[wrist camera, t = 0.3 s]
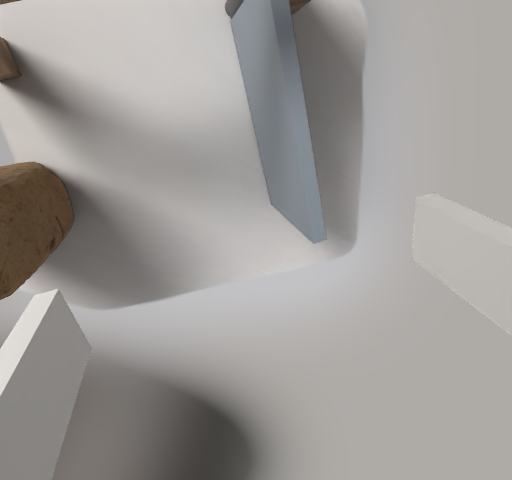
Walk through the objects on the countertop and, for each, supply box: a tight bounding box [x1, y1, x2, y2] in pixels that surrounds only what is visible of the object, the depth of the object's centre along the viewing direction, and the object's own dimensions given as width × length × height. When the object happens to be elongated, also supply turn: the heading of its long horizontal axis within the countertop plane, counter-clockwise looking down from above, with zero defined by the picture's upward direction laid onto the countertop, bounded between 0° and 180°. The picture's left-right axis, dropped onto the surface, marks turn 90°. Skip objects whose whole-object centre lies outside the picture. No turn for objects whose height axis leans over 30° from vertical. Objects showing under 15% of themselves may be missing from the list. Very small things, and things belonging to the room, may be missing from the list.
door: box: [225, 0, 327, 244], centre depth 30 cm, size 21×3×13 cm, turn 13°
